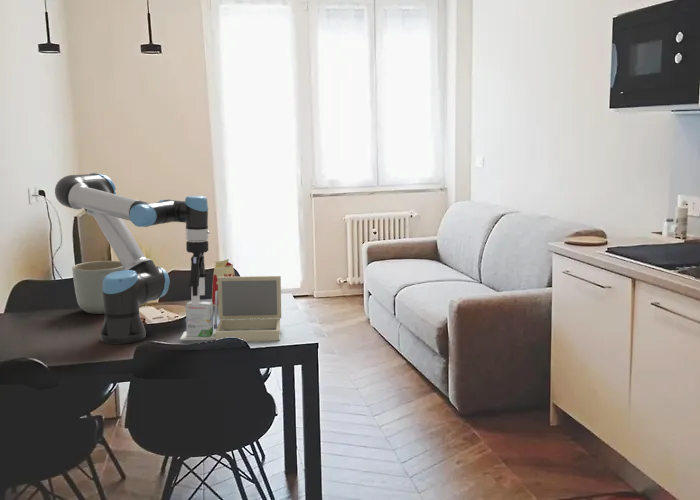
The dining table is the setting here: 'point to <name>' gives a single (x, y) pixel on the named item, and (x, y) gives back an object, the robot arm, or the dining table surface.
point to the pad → (197, 337)
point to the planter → (92, 283)
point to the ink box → (199, 319)
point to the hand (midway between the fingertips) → (198, 299)
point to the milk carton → (221, 274)
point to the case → (248, 307)
